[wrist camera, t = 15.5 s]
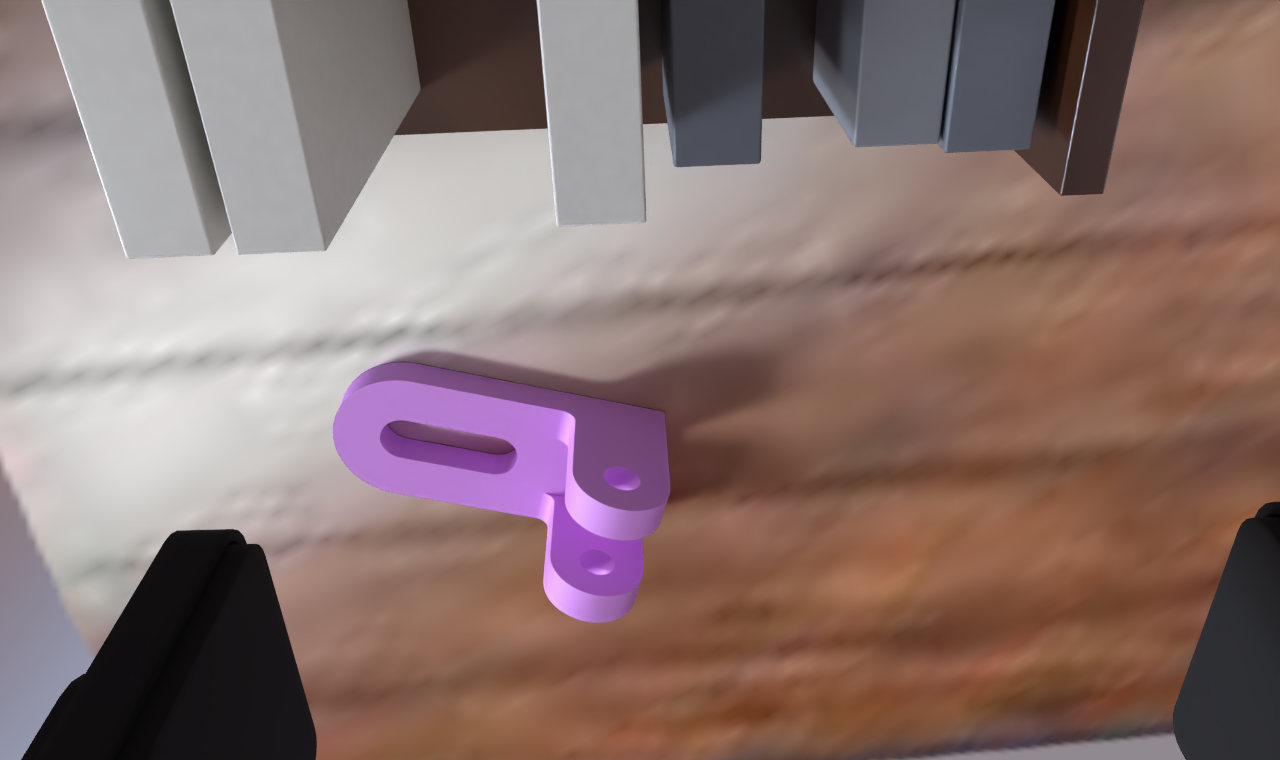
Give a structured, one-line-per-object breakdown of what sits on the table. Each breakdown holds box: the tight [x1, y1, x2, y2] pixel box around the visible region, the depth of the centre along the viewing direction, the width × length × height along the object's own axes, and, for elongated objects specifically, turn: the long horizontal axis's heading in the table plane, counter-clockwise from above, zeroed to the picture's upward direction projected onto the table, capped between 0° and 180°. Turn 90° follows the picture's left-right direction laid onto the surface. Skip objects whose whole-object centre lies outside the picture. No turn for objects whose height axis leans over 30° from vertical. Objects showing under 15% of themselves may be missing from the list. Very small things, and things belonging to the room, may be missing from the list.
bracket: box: [333, 362, 670, 623], centre depth 40 cm, size 13×6×7 cm, turn 76°
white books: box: [41, 0, 421, 259], centre depth 26 cm, size 4×8×13 cm, turn 2°
